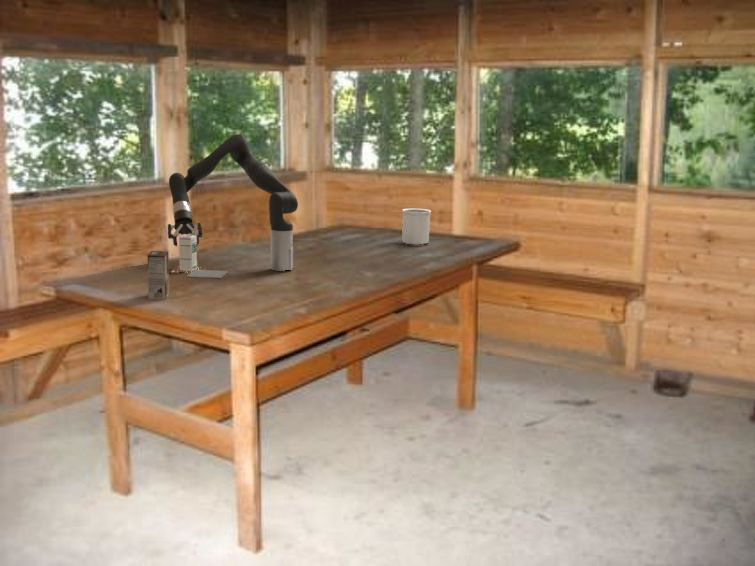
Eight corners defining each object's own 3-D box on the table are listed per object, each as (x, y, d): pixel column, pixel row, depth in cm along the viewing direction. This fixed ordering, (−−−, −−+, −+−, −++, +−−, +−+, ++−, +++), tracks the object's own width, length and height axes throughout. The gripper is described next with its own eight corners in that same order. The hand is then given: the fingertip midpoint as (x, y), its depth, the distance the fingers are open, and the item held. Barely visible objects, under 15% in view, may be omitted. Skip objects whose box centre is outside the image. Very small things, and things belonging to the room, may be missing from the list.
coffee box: (151, 293, 320) (151, 250, 317) (169, 294, 321) (169, 250, 318) (147, 299, 312) (146, 255, 308) (166, 299, 312) (165, 255, 309)
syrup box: (192, 271, 363) (191, 236, 360) (179, 270, 364) (178, 236, 361) (197, 268, 368) (197, 235, 365) (184, 268, 370) (184, 234, 367)
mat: (228, 272, 365) (228, 271, 365) (221, 278, 351) (220, 277, 351) (194, 270, 365) (194, 269, 365) (186, 277, 351) (186, 276, 351)
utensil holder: (430, 246, 448) (431, 212, 445) (401, 245, 448) (402, 211, 445) (428, 241, 463) (430, 208, 459) (400, 240, 463) (402, 208, 459)
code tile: (205, 267, 372) (205, 267, 372) (199, 273, 360) (199, 272, 360) (178, 266, 372) (178, 266, 372) (170, 272, 361) (170, 271, 361)
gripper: (198, 218, 381) (203, 249, 373) (165, 219, 376) (169, 250, 368) (199, 208, 375) (204, 239, 367) (166, 209, 370) (169, 240, 362)
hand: (186, 244), depth 367 cm, fingers open, 8 cm apart
